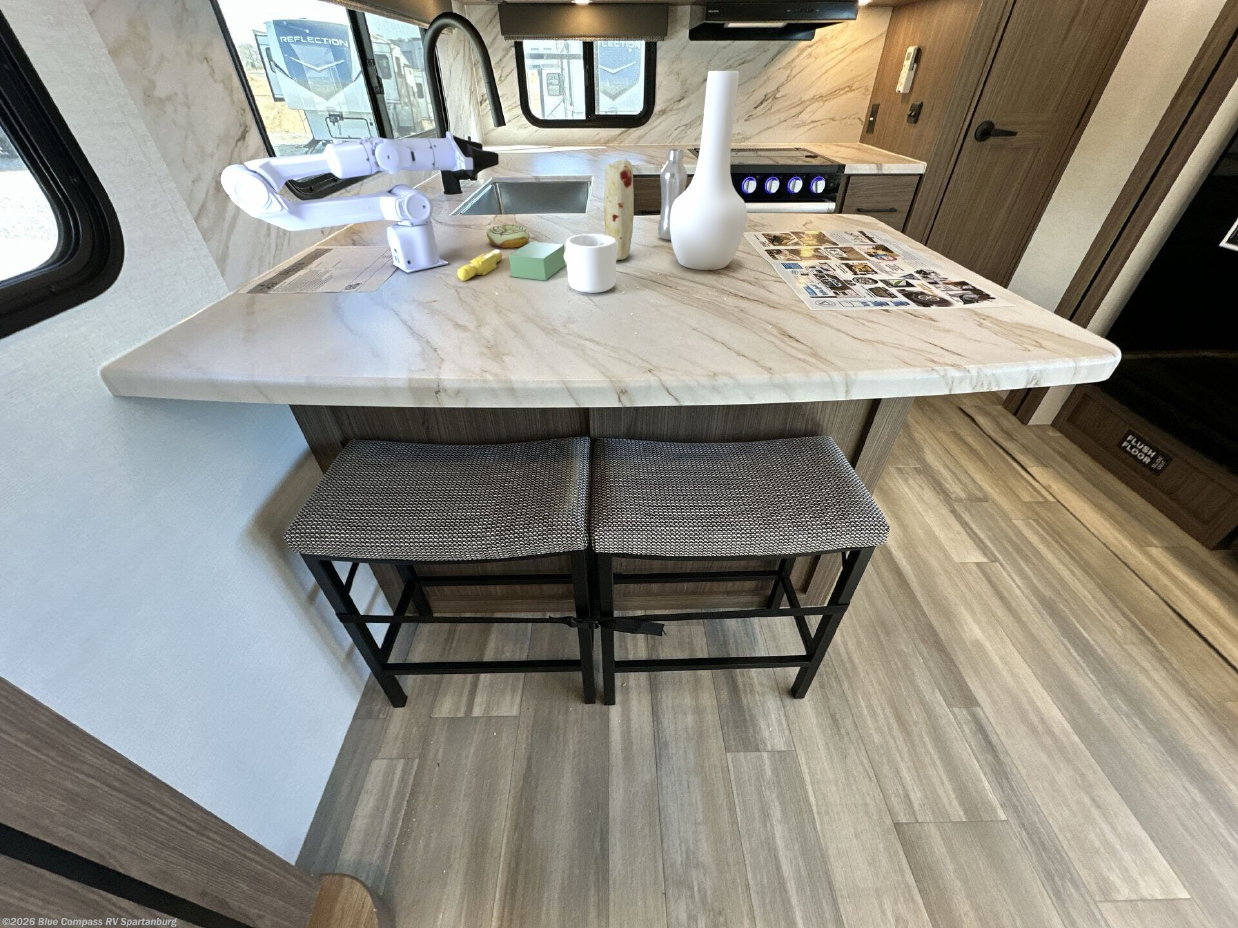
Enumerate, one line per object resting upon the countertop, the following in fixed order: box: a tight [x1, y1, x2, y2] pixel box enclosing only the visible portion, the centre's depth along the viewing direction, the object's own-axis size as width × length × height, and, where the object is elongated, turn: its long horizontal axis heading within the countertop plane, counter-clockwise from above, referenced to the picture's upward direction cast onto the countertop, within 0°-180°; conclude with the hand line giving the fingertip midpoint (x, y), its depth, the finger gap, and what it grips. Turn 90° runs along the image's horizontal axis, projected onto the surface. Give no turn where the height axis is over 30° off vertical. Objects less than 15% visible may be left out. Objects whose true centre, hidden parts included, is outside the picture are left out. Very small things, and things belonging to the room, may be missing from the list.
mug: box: [564, 233, 617, 294], centre depth 101 cm, size 12×10×9 cm
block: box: [508, 241, 566, 281], centre depth 110 cm, size 11×8×4 cm
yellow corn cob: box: [456, 248, 503, 281], centre depth 110 cm, size 16×4×3 cm, turn 162°
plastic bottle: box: [657, 148, 688, 241], centre depth 126 cm, size 6×7×20 cm
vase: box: [670, 70, 748, 271], centre depth 106 cm, size 17×17×35 cm
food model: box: [603, 158, 635, 261], centre depth 113 cm, size 10×7×20 cm
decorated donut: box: [486, 223, 530, 249], centre depth 127 cm, size 10×11×4 cm
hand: (489, 154), depth 111 cm, fingers open, 7 cm apart
